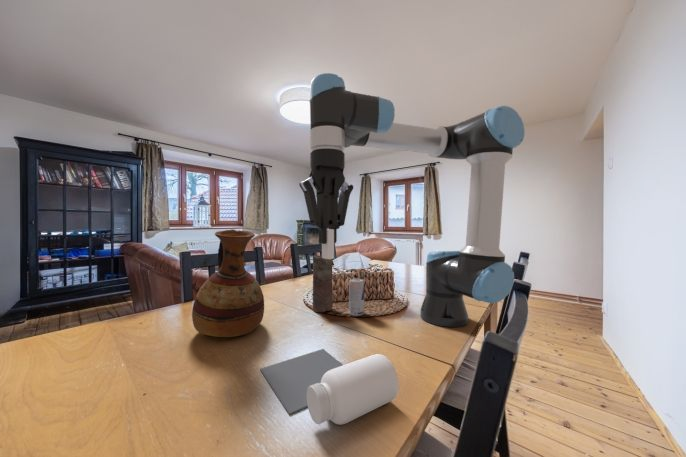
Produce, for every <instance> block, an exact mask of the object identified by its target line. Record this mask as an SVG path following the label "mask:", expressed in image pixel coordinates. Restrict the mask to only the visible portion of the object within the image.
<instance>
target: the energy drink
mask: <svg viewBox="0 0 686 457" xmlns="http://www.w3.org/2000/svg"><path fill="white" fill-rule="evenodd" d="M364 313H365V280H364V279H363V278H357V277H356V278H350V279H349V281H348V314H350V316H354V317H360V316H363V315H364Z"/></svg>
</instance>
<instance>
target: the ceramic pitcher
mask: <svg viewBox="0 0 686 457" xmlns="http://www.w3.org/2000/svg"><path fill="white" fill-rule="evenodd" d="M214 235H215V237H216V238H218V239H219V246H218V249H217V263H218V264H217V266H218V267H217V268H218V270H217V271H216V272H214V273H212V274H211V275H210V276H209V277H208V278H207V279H206V280H205V281H204V282H203V283H202V285H201V286H200V288H199V290H198V291H197V294H196V295H195V299H194V301H193V305H192V308H191V310H192V311H191V320H192V325H193V327H194V329H195V330H196V332H197V333H200V334H202V335H206V336H211V337H217V338H232V337H239V336H240V337H241V336H242V335H246V334H249V333H250V332H252V331H254V330H255V329H256V328H258V327H259V326H260V324H261V322H262V321H263V319H264V318H263V317H264V314H265V297H264V294H263V290H262V288H261V285H260V284H259V282H258V281H257V279H256V278H255V276H254V275H252V274H251V273H250V272H249V271H247V270H246V268H245V262H244V261H245V260H244V259H245V253H246V249H247V245H248V243H249V242H250V241H251V240H252V239H253V238H254V237H255V236H256V234H255V233H254V232H251V231H248V230H236V229H226V230H220V231H216V232H215V233H214Z"/></svg>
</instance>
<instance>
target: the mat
mask: <svg viewBox="0 0 686 457" xmlns="http://www.w3.org/2000/svg"><path fill="white" fill-rule="evenodd" d="M343 365H344V364H343V363H341V362H340V361H339V360H338V359H336V358H335V357H334V356H332V354H330V353H329V352H328V351H326V350H325V349H324V348H322V349H318V350H316V351H312V352H309V353H305V354H302V355H299V356H296V357H294V358H293V357H292V358H289V359H286V360H283V361H280V362H277V363H275V364H274V363H273V364H270V365H267V366H264V367H262V368H261V367H260V369H259V370H260V372H261V374H262V375H263V377H264V378H265V380H266V381H267V383H268V385H269V386H270V388H271V389H272V390H273V392H274V394H275V395H276V397H277V399H278V401H280V403H281V405H282V406H283V408H284V409H285V411H286V413H287V414H288V415H289V416H291V415H293V414H295V413H297V412H300V411H302V410H305V409H308V405H307V390H308V388H309V386H311V385H314V384H316V383H321V379H322V377H323V375H324V374H325V373H326V372H327V371H329V370H331V369H334V368H337V367H340V366H343Z"/></svg>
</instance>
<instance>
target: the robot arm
mask: <svg viewBox="0 0 686 457" xmlns="http://www.w3.org/2000/svg"><path fill="white" fill-rule="evenodd" d="M309 114H310V115H309V117H310V129H309V130H310V131H309V132H310V133H309V134H310V136H309V137H310V138H309V139H310V141H309V144H310V145H309V146H310V150H311V152H310V159H309V162H310V173H309V176H308V178H307V179H305V180H303V181H300V182H299V187H300V189H301V191H302V192H303V196H304V200H305V205H306V209H307V214H308V218H309V222H310V226H312V227H315V228H316V229H318V242H319V244H321V256H322V258H325V259H332V260H334V259H335V244H336V243H337V237H338V236H337V234H338V233H337V232H338V231H337V230H338V229H340V227H343V226H344V225H345V221H346V215H347V212H348V207H349V202H350V196H351V194H352V192H353V190H354V185H353V184H349V183H348V182H347V181H346V176H345V175H344V169H345V166H346V165H345V159H346V158H345V153H344V151H345V148H350V147H351V146H354V147H365V148H375V149H385V150H394V151H395V150H396V151H404V152H411V153H420V154H421V153H422V154H428V156H430V157H432V158H437V159H445V160H446V159H449V160H465V161H466V162H467V163H468V164H469V165H470V180H469V181H470V182H469V191H468V192H469V194H468V196H469V197H468V208H467V223H466V224H467V225H466V237H465V238H466V239H465V246H464V247H463V248H461V249H460V250H444V251H443V250H441V251H430V252H428V253H427V256H426V263H425V264H426V266H425V267H426V268H425V269H426V271H425V272H426V277H425V279H426V280H425V284H426V286H425V287H426V288H425V289H426V290H425V291H426V292H425V296H424V300H423V302H422V305H421V307H420V315H419V316H420V318H421V319H422V320H424V321H425V322H426V323H429V324H433V325H436V326H440V327H445V328H446V327H447V328H458V327H464V326H467V325H468V324H469V314H468V310H467V307H466V304H465V301H464V297H465V296H466V297H467V298H471V299H474V300H475V301H478V302H484V303H487V304H497V303H499V302H502V301H503V300H504V299H505V298H506V297H507V296H509V294H510V292H511V290H512V289H513V285H514V280H515V272H514V271H513V267H511V265H509V264H508V263H507V262H506V260H505V259H506V254H504V253H503V251H502V250H501V249H500V242H501V226H502V214H503V203H504V201H503V199H504V186H505V174H506V173H505V172H506V171H505V170H506V164H507V163H508V162H509V161H510V160H511V159H512V158H513V149H514V148H517V147H518V146H520V145H521V144H522V142H523V141H524V138H525V134H526V133H525V125H524V122H523V120H522V117H521V116H520V115H519V113H518V112H517V111H516V109H514V108H512V107H511V106H508V105H500V106H497V107H494V108H490V109H487V110H486V111H485V112H483V113H480V114H477V115H475V116H473V117H470V118H468V119H466V120H464V121H461V122H459V123H456V124H452V125H449V126H442V125H437V126H435V127H434V128H431V127H427V126H426V127H424V126H419V125H418V126H417V125H412V124H411V125H410V124H406V123H405V124H404V123H398V122H397V123H396V122H394V121H395V116H396V115H395V106H394V103H393V102H392V101H391V100H389V99H387V98H383V97H380V96H375V95H370V94H364V93H359V92H353V91H350V90H346V85H345V80H344V79H343V77H340V76H339V75H337V74H335V73H332V72H331V73H329V72H327V73H325V72H324V73H321V74H318V75H316V76H315V77H313V79H312V80H311V83H310V90H309ZM314 189H315V190H314ZM315 191H316V192H315ZM315 194H316V195H315Z"/></svg>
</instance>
